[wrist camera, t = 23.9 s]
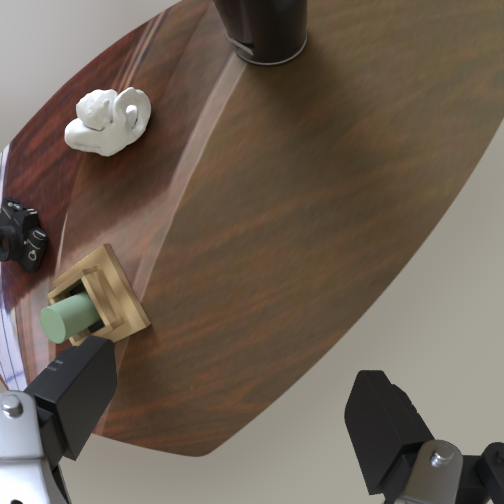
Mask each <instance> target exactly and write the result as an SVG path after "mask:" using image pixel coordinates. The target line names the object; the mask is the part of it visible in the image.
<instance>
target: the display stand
mask: <svg viewBox="0 0 504 504" xmlns="http://www.w3.org/2000/svg"><path fill="white" fill-rule="evenodd" d="M53 284H54V286H55V290H53V291H52V292H51V293H49V294H48V295H47V296H48V298H49V300H50V303H51V305H53V304H55V303H57V302H60V301H62V300H64V299H67V298H69V297H71V296H74V295H76V294H79V293H81V292H83V291H86V290H87V292H88V294H89V296H90V298H91V300H92V302H93V303H94V305H95V307H96V309H97V311H98V313H99V315H100V317H101V318H102V319H101V320H99V321H97V322H96V323H94V324H92V325H91V326H89V327H87V328H85V329H84V330H82V331H80V332H79V333H77V334H75V335H74V336H72V337H70V338H69V339H70V341H71V343H72V344H73V346H79V345H80V344H81V343H82V342H83V341H84V340H85V339H86V338H87V337H88V336H89V335H94V336H98V337H102V338H106V339H110V340H112V341H113V343H114V342H116V341H119V340H121V339H123V338H125V337H127V336H129V335H131V334H133V333H136V332H138V331H140V330H142V329H144V328H146V327H147V326H149V325H150V324H151V322H150V320H149V319H148V317H147V315H146V313H145V312H144V310H143V308H142V306H141V304H140V303H139V301H138V299H137V297H136V295H135V293H134V292H133V290H132V288H131V286H130V284H129V282H128V280H127V278H126V276H125V274H124V272H123V270H122V268H121V266H120V264H119V262H118V260H117V258H116V256H115V254H114V252H113V250H112V248H111V246H110V244H109V243H108V244H103V245H102V246H100V247H99V248H97V249H96V250H95V251H93V252H92V253H91V254H89V255H88V256H86V257H85V258H84V259H82V260H81V261H80V262H78V263H77V264H76V265H74V266H73V267H71V268H70V269H69V270H67V271H66V272H65V273H64V274H62V275H61V276H60V277H58V278H57V279H56V280H54V281H53Z"/></svg>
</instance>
